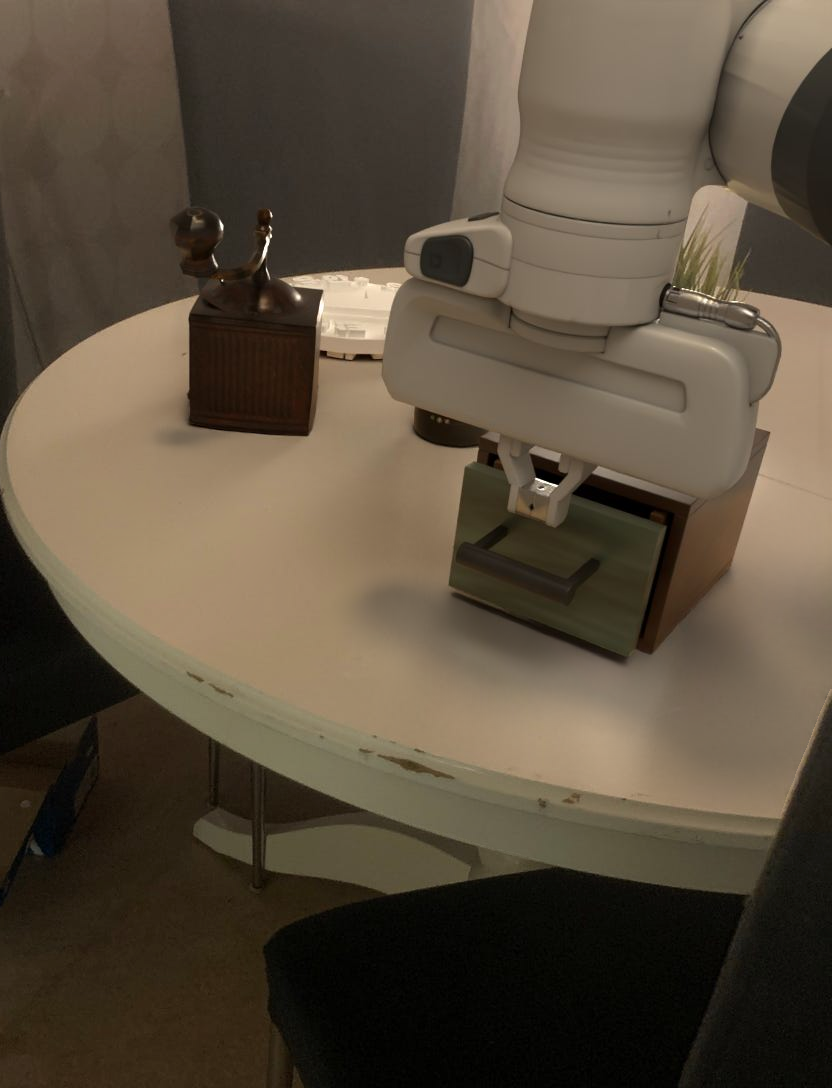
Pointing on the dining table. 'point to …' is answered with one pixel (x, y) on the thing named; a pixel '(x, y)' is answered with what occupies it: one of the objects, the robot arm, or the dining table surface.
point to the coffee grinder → (248, 335)
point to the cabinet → (671, 531)
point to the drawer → (561, 558)
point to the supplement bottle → (446, 429)
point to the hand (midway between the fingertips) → (536, 516)
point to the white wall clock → (352, 314)
